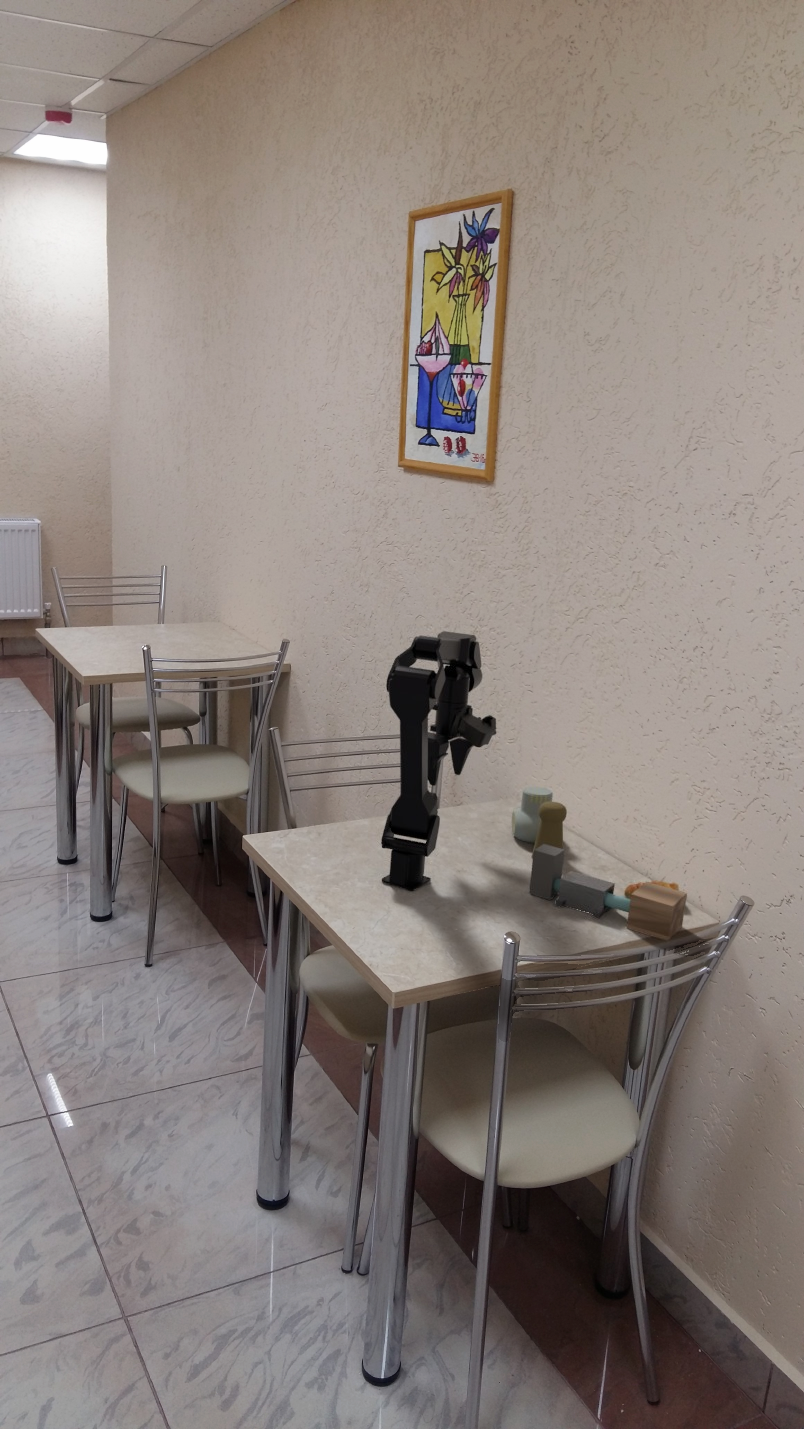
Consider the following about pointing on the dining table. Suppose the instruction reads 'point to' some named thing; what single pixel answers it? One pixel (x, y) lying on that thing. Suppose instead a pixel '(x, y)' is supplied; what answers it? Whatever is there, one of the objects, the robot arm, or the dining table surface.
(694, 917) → the dining table surface
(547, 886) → the tube
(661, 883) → the pastry
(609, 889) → the sleeve
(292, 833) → the dining table surface
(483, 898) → the dining table surface
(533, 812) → the air freshener
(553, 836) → the cork
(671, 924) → the socket block
